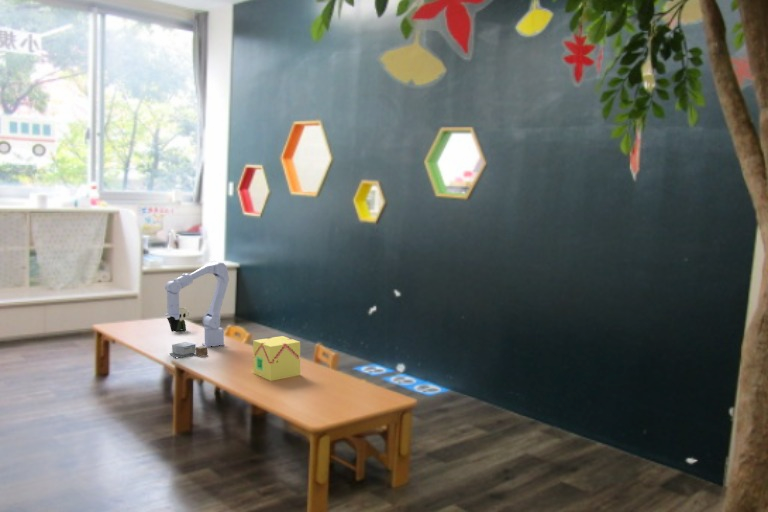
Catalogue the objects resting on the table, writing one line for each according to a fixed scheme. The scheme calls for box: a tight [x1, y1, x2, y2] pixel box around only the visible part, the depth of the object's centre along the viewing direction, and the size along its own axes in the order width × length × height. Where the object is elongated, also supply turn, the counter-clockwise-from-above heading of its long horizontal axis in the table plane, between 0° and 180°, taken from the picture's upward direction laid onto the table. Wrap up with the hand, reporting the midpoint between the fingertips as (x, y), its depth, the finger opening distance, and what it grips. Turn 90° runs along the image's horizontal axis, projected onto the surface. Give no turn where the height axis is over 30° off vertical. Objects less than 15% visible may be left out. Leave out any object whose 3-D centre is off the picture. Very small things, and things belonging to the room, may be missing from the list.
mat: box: [169, 352, 194, 358], centre depth 318 cm, size 9×10×1 cm
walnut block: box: [195, 345, 209, 357], centre depth 318 cm, size 4×4×4 cm
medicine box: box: [171, 341, 197, 355], centre depth 320 cm, size 8×4×9 cm
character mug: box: [175, 307, 190, 332], centre depth 373 cm, size 11×7×13 cm, turn 127°
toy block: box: [252, 335, 301, 382], centre depth 286 cm, size 15×15×15 cm
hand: (173, 331), depth 327 cm, fingers closed
